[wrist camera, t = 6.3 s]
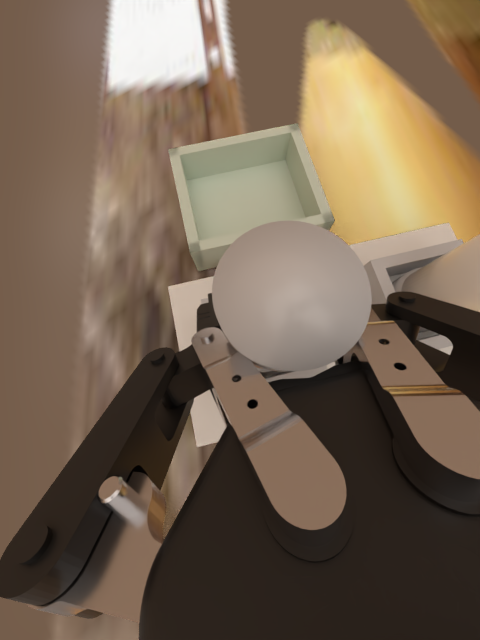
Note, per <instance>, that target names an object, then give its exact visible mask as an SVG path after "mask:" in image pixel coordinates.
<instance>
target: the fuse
mask: <svg viewBox="0 0 480 640" xmlns="http://www.w3.org/2000/svg"><path fill="white" fill-rule="evenodd" d="M392 285H393V287H394V290H395V292H403V291H404V292H413V293H417V294H421V295H424V296H427V297H431V298H434V299H437V300H441V301H444V302H448V303H451V304H454V305H458V306H461V307H464V308H468V309H471V310H474V311H478V312H480V234H479V235H477V236H475V237H474V238H472V239H470V240H468V241H467V242H465V243H463V244H462V245H460V246H458V247H456V248H455V249H453V250H451V251H450V252H448V253H446V254H445V255H443V256H441V257H439V258H438V259H436V260H434V261H433V262H431V263H429V264H427V265H426V266H424V267H422V268H417V269H414V270H412V271H410V272H408V273H406V274H405V275H403V276H401V277H400V278H398V279H396V280H395V281H393V282H392ZM426 331H430V330H428V329H425V328H423V327H420V329H419V332H418V333H421V332H426Z"/></svg>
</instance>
